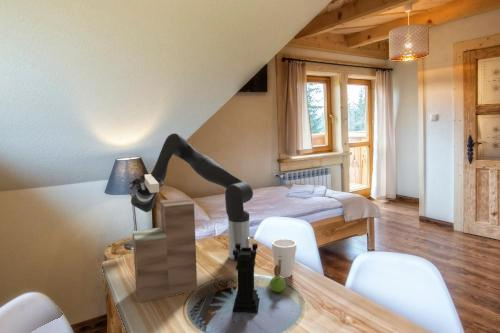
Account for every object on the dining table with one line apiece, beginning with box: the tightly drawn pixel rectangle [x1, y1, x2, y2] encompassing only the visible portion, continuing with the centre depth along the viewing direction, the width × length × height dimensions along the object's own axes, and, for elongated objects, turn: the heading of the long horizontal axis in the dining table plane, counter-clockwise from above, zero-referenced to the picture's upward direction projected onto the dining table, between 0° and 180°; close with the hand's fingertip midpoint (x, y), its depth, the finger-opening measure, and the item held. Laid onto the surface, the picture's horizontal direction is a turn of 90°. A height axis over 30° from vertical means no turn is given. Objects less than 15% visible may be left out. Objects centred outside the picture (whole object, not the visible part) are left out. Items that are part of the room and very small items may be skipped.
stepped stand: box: [132, 197, 198, 304], centre depth 123 cm, size 10×20×32 cm, turn 113°
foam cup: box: [271, 238, 297, 277], centre depth 136 cm, size 10×9×13 cm
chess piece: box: [232, 243, 261, 314], centre depth 113 cm, size 8×8×20 cm
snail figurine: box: [269, 255, 286, 293], centre depth 123 cm, size 5×6×12 cm
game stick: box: [144, 173, 160, 193], centre depth 131 cm, size 22×3×3 cm, turn 23°
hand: (148, 176), depth 136 cm, fingers closed on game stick, 3 cm apart
